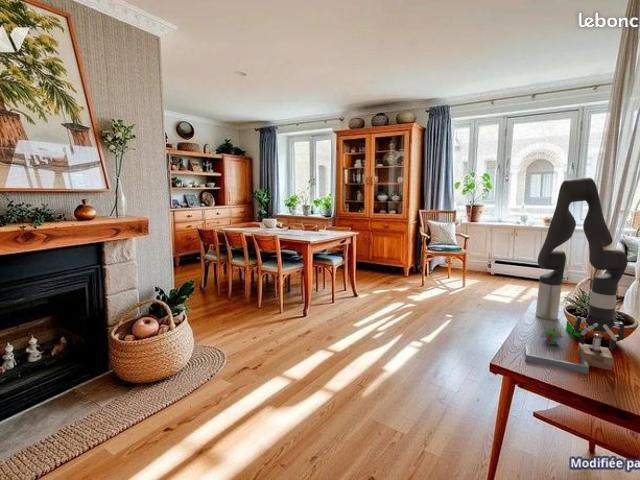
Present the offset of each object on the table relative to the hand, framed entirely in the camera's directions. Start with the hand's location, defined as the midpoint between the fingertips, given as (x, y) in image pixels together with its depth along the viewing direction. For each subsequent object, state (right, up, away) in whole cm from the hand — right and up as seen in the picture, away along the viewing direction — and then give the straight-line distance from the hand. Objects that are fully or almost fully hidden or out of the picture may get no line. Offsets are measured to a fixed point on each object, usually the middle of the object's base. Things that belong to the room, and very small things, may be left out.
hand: (596, 346), depth 132 cm
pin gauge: (0, -6, +1) cm, 6 cm away
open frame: (-14, -6, +2) cm, 16 cm away
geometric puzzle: (-7, -4, +15) cm, 17 cm away
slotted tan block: (0, -6, +1) cm, 6 cm away
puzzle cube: (+14, -2, +24) cm, 28 cm away
